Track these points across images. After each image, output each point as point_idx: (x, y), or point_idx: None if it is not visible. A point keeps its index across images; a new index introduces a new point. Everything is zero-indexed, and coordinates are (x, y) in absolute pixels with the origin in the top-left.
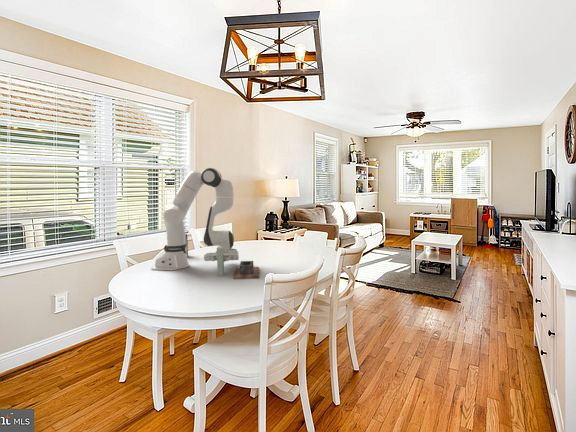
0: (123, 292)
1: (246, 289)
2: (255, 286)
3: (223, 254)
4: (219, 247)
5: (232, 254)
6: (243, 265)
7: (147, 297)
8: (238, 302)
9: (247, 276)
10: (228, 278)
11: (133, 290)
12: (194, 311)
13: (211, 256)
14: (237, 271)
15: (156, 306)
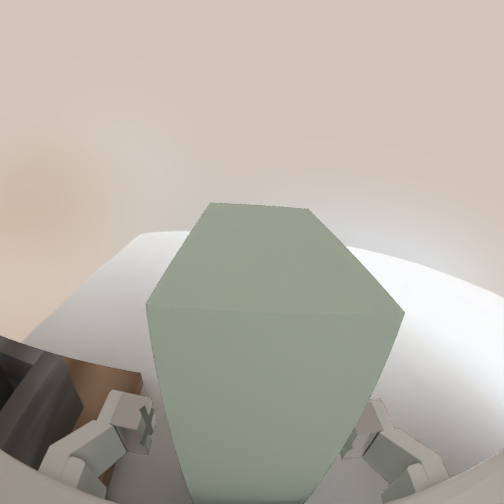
0: (486, 296)
1: (129, 279)
2: (90, 290)
3: (186, 481)
4: (278, 230)
5: (7, 458)
6: (36, 350)
7: (410, 276)
8: (175, 241)
9: (63, 356)
10: None
11: (483, 303)
12: None
13: (435, 473)
14: None
15: (350, 250)
